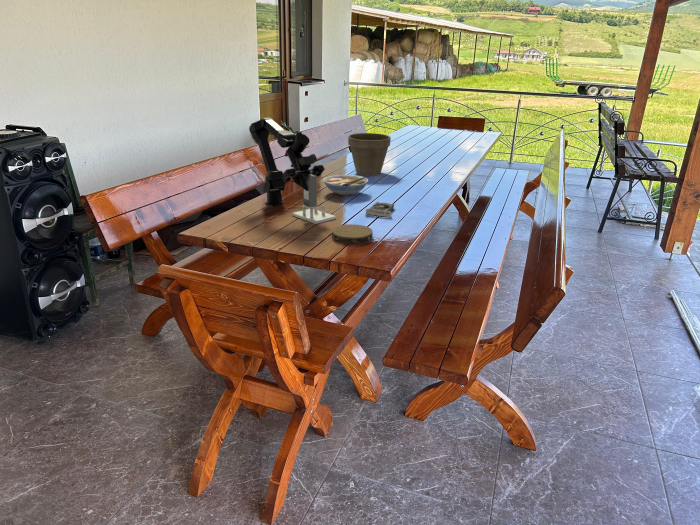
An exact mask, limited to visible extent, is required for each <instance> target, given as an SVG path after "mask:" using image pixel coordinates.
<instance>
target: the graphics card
mask: <svg viewBox="0 0 700 525" xmlns="http://www.w3.org/2000/svg"><path fill="white" fill-rule="evenodd" d="M394 207H395V203H388V202H379V201H377V202H375V203H374V204H373V205H372V206H371V207H369V208H366V209H365V216H366V215H370V216H369V217H374V216H376V217H375V218H378V217H377V216H379V218H381V217H388V219H392V218H393V212H392V210H393V209H394ZM387 213H388V214H387Z"/></svg>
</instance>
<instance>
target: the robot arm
mask: <svg viewBox="0 0 700 525" xmlns="http://www.w3.org/2000/svg"><path fill="white" fill-rule="evenodd" d="M248 130H249V133H250V135H251V138H252V139H253V140H254V141H255V142H256V143H257V145H258V149H259V151H260V154H261V157H262V158H261V159H262V161H263V164H264V167H265V170H266V171H265V172H266V174H265V182H264V183H263V186H262V189H263V192H264V193H266V200H267V201H266V202H264V204H265V205H268V206H274V207H277V206H280V205H281V204H284V203H285V202H284V201H283V195H282V192H283V191H285V187H286V182H290V181H291V180H292V181H291V183H295V184H296V185H297V186H299V187H301V188H302V190H303V189H305V190H306V191H308V187H307V185H306V183H305V181H304V179H303V175H306V174H312V175H315V176H317V177H320V176H321V175H322V174H323V172H324V171H325V170H326V168H325V166H324V165H323V164H315V163H316V162H317V161H318V159H317V156H316V154H315V153H311V154H309V155H307V156H305V155H304V156H303V154H302V153H303V152H305V150H306V148H307V147H308V146H309V143H310V138H309V137H308V136H307V134H304V133H302V131H298V132H296V134H295V133H294V132H292V131H288V130H286V129H284V128H283V127H282V126H280V125H279V124H278V123H277V122H276V121H274V120H273V118H272V117H262V118H260V119H259V120H256V121H255V122H252V123H251V124H250V125H249V129H248ZM270 134H271V135H272V136H273V137H275V139H277V144H278V145H279V146H280V147H281V148H282V149H283V148H284V149H285V148H287V149H286V150H285V153H284V157H288V159H289V161H290V163H291V164H290V167H291V168H288V169H285V171H284V172H283V170H279V169H278V168H277V164H276V162H275V158H274V155H273V151H272V148H271V145H270V143H269V136H270ZM312 164H313V167H312ZM314 164H315V165H314ZM311 167H312V168H311Z"/></svg>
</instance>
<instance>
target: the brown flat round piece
mask: <svg viewBox="0 0 700 525" xmlns="http://www.w3.org/2000/svg"><path fill="white" fill-rule="evenodd" d="M331 238H333V239H334V240H333V239H332V240H333V241H335V242H337V243H340V242H341V243H340V244H344V243H346V245H360V244H359V243H361V244H365V242H366V243H368V242H370V241H372V239H373V228H371V227H369V226H366V225H363V224H354V223H352V224H351V223H350V224H340V225H338V226H335V227H333V228H332V229H331Z"/></svg>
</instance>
